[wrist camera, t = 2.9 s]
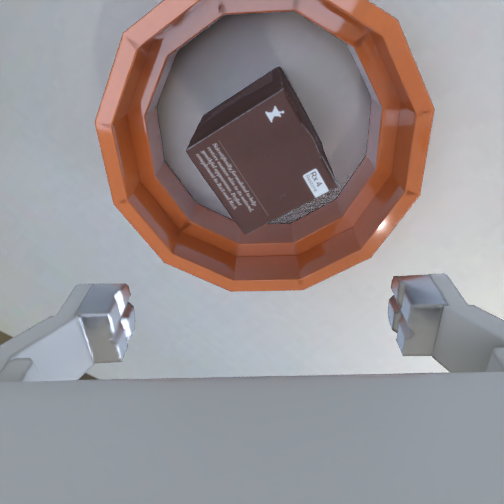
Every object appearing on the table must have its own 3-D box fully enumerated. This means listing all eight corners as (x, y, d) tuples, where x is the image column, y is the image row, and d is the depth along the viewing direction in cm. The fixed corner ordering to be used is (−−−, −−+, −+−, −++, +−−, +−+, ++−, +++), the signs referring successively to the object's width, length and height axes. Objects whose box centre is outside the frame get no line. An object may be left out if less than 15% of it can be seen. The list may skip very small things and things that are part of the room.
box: (200, 114, 28) (181, 148, 22) (280, 63, 26) (284, 84, 20) (248, 188, 31) (243, 238, 24) (324, 146, 29) (340, 188, 23)
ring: (418, -37, 23) (461, -46, 18) (382, 242, 32) (404, 288, 27) (104, -19, 24) (60, -24, 19) (154, 248, 33) (133, 293, 28)
